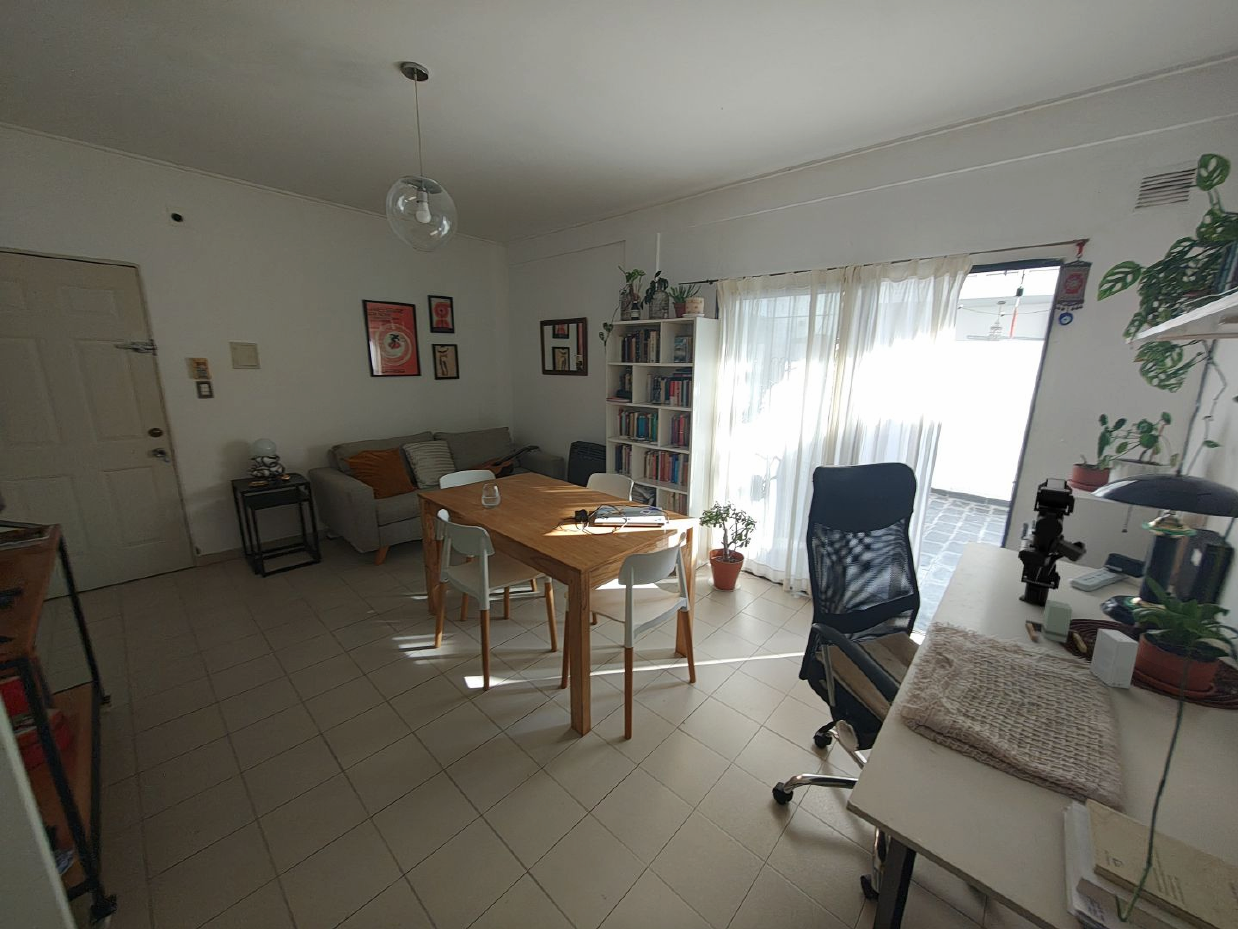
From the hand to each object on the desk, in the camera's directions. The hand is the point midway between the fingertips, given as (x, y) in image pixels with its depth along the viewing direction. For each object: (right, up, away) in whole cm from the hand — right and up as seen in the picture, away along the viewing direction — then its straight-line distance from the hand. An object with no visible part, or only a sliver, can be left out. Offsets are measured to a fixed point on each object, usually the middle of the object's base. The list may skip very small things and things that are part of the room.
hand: (1039, 578), depth 137 cm
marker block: (-4, -15, -8) cm, 17 cm away
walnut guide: (-5, -15, -9) cm, 18 cm away
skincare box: (-9, -18, -27) cm, 34 cm away
